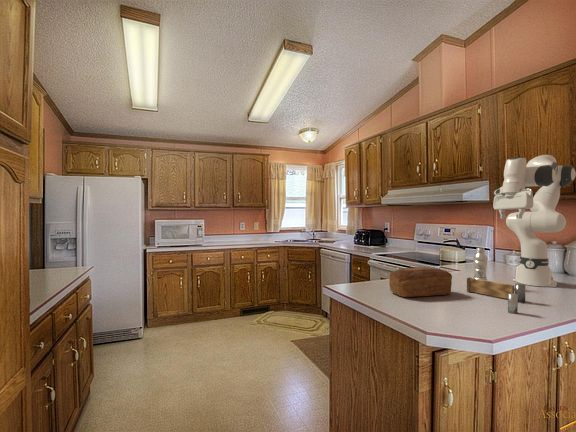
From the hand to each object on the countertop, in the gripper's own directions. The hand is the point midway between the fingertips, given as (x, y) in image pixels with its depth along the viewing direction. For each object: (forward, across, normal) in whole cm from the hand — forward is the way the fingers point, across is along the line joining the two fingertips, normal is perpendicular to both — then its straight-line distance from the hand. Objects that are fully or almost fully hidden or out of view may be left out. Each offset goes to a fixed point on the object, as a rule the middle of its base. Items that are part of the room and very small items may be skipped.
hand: (511, 218), depth 147 cm
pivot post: (+37, -14, +5) cm, 40 cm away
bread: (+41, +1, +41) cm, 58 cm away
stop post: (+39, -28, +20) cm, 52 cm away
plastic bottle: (+36, +13, +3) cm, 38 cm away
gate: (+37, -5, +11) cm, 39 cm away
